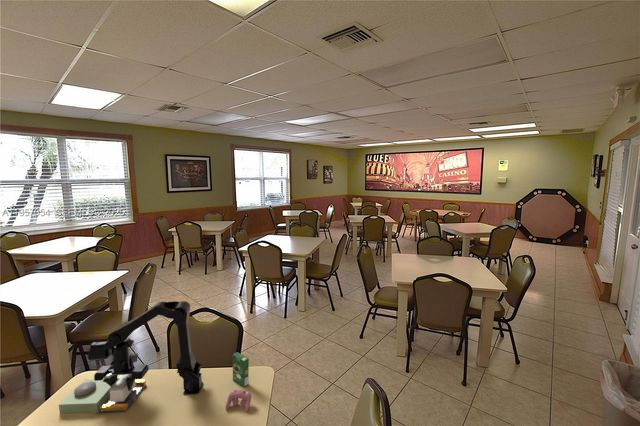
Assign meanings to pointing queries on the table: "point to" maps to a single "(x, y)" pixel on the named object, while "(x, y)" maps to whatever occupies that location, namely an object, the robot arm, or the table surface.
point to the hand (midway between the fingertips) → (123, 390)
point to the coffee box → (240, 369)
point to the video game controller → (242, 395)
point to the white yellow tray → (124, 405)
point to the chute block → (120, 389)
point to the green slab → (86, 397)
